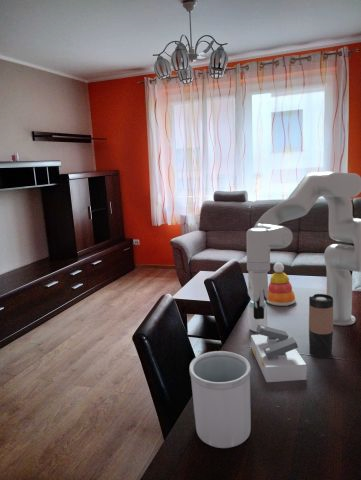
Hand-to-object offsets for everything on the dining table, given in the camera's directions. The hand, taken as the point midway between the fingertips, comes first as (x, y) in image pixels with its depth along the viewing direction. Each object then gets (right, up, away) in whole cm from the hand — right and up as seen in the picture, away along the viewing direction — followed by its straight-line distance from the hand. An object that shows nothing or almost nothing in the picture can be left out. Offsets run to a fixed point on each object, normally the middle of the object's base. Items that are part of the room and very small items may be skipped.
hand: (258, 318), depth 127 cm
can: (+5, -10, +23) cm, 25 cm away
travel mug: (+22, -13, +2) cm, 25 cm away
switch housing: (+5, -14, -3) cm, 15 cm away
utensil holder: (-16, -21, -32) cm, 42 cm away
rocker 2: (+5, -8, -9) cm, 13 cm away
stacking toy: (+21, -3, +51) cm, 55 cm away
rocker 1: (+5, -6, +1) cm, 8 cm away
